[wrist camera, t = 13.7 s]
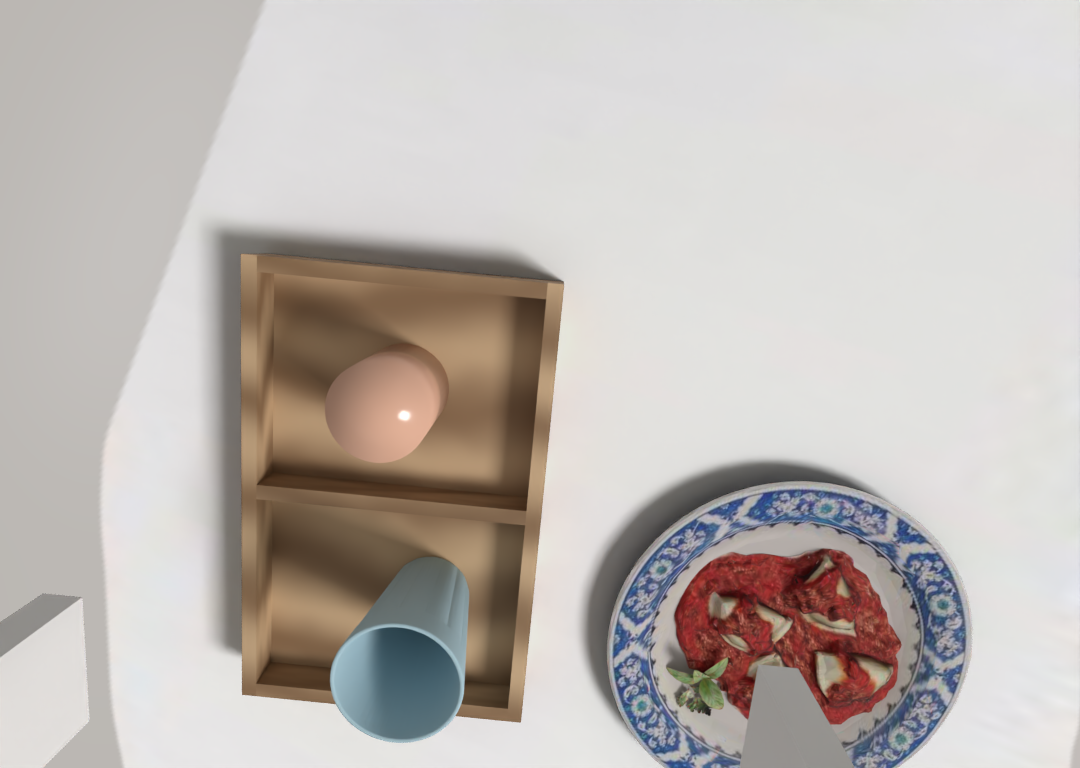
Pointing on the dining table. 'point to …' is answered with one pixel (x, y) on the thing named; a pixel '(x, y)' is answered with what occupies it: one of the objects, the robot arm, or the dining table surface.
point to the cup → (407, 655)
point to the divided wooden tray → (390, 465)
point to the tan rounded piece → (387, 402)
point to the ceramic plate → (790, 624)
